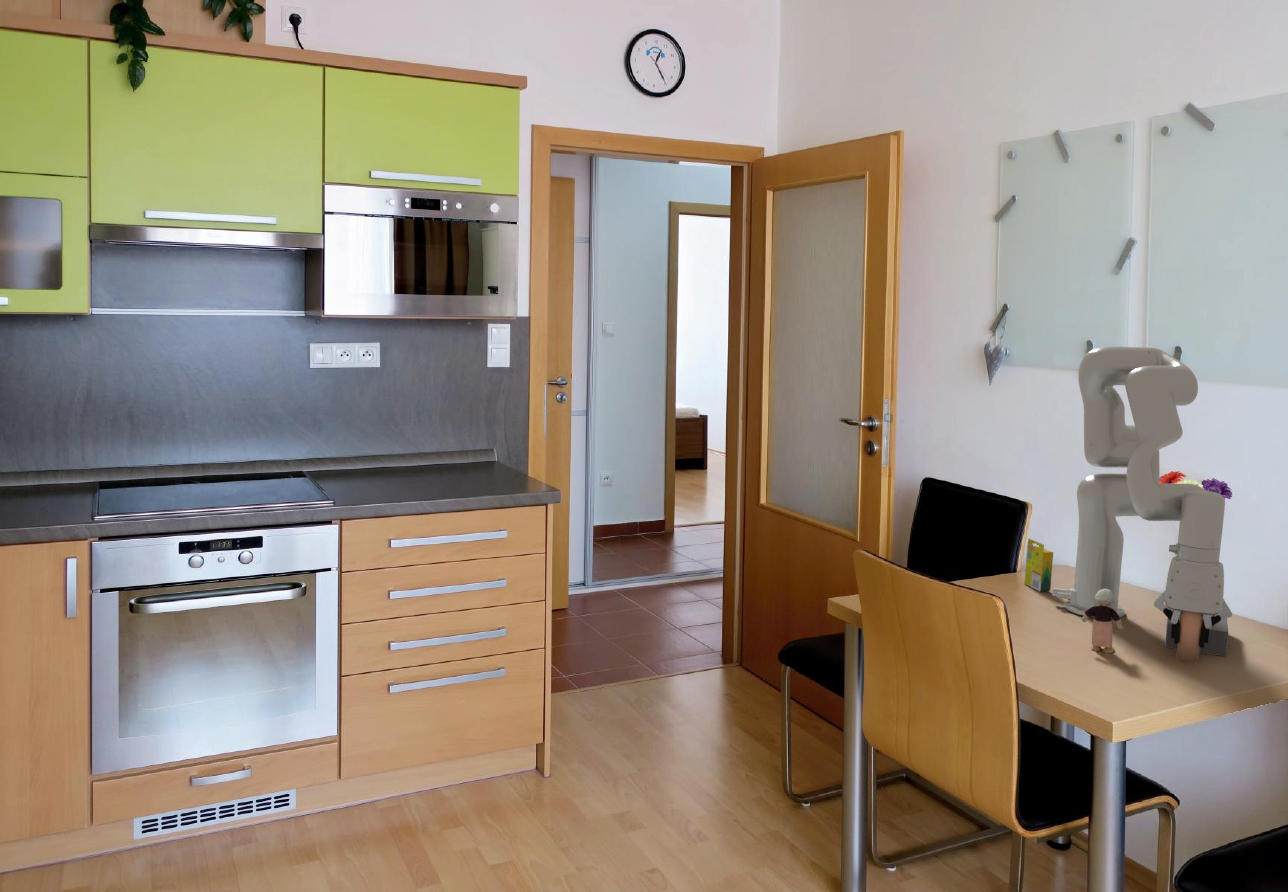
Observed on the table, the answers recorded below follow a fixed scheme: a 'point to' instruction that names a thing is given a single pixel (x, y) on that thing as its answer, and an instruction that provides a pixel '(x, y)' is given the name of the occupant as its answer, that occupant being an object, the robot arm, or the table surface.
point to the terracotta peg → (1189, 636)
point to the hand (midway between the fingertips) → (1188, 642)
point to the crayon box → (1038, 567)
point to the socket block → (1215, 641)
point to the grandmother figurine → (1102, 621)
